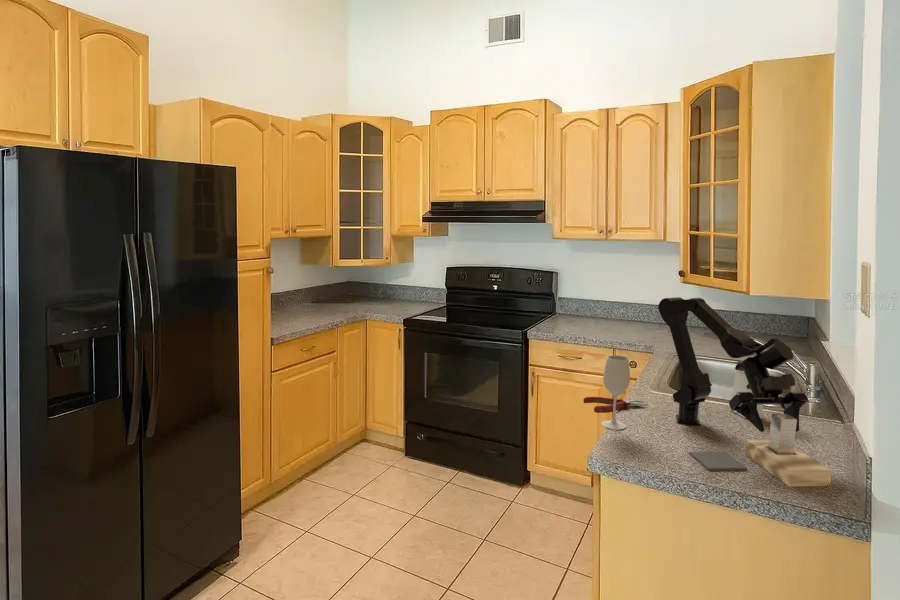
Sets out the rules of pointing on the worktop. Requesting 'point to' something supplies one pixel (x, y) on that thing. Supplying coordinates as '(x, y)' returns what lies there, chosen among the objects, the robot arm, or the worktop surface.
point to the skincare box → (743, 389)
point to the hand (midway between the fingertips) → (780, 431)
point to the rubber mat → (717, 461)
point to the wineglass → (616, 384)
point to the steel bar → (782, 434)
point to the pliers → (611, 404)
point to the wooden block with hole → (789, 465)
